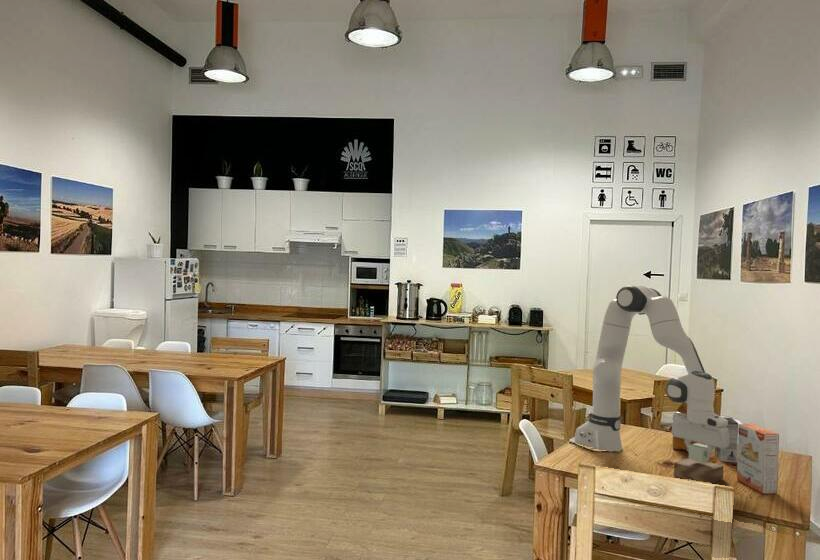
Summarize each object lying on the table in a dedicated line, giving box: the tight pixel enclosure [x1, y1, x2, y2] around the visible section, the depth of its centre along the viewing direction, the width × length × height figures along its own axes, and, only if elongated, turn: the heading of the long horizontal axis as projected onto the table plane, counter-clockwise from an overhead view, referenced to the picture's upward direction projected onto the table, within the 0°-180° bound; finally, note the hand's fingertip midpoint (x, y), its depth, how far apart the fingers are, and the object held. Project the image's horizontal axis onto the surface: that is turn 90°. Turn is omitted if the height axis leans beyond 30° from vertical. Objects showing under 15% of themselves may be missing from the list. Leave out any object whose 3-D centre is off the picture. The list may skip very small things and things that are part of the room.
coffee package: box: [671, 403, 698, 451], centre depth 257 cm, size 10×12×22 cm
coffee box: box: [714, 416, 739, 464], centre depth 244 cm, size 9×6×16 cm
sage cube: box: [688, 442, 710, 462], centre depth 219 cm, size 5×5×5 cm
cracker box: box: [736, 423, 780, 495], centre depth 211 cm, size 14×6×21 cm, turn 5°
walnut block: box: [673, 457, 724, 484], centre depth 219 cm, size 12×12×5 cm
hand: (698, 454), depth 219 cm, fingers closed on sage cube, 5 cm apart
